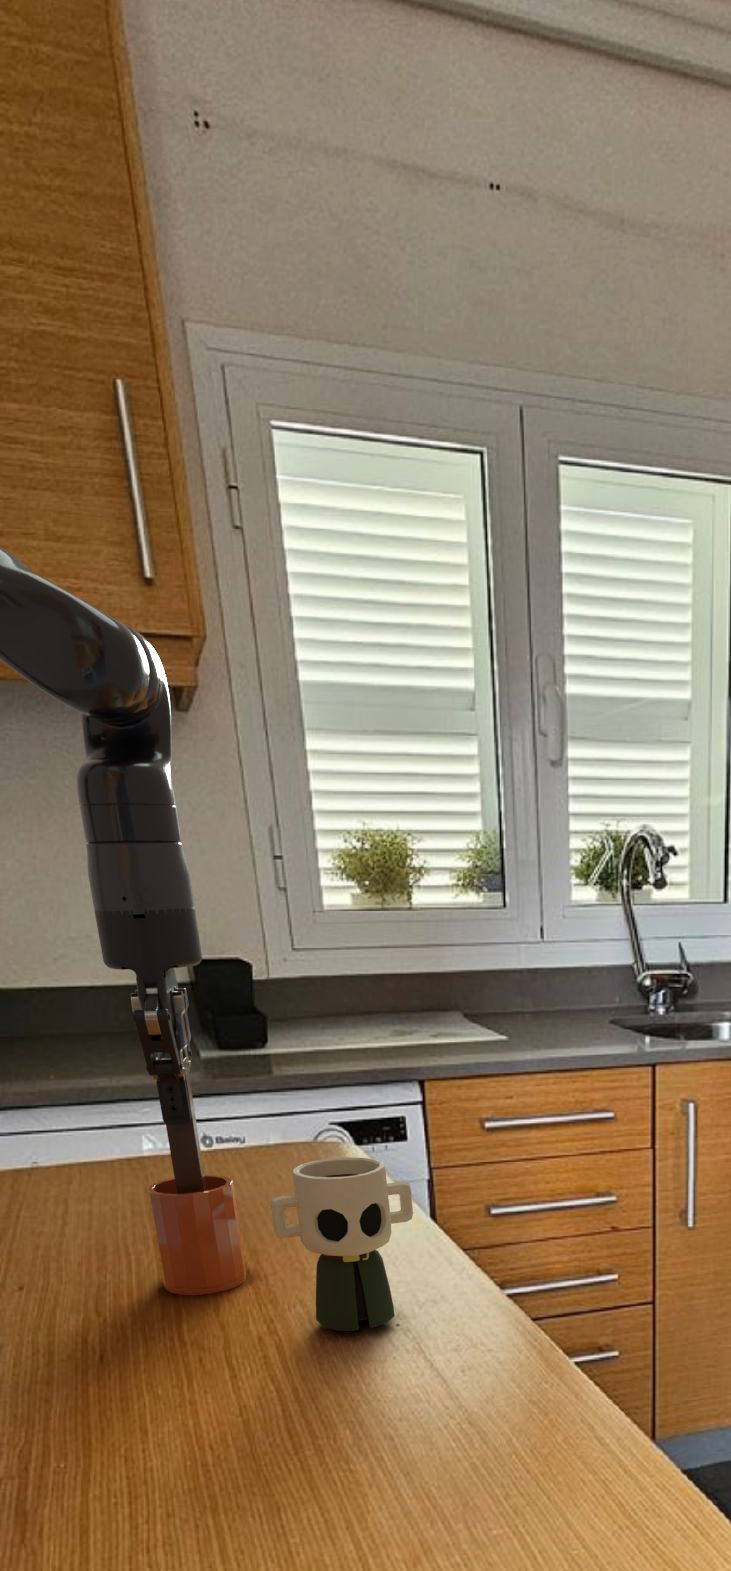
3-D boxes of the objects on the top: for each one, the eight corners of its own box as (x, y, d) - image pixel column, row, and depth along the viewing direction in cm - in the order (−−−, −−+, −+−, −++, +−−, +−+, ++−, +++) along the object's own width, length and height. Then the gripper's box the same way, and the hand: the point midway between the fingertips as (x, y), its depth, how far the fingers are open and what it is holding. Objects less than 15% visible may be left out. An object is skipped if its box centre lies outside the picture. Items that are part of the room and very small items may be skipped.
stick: (178, 1202, 103) (155, 1062, 99) (181, 1196, 105) (158, 1058, 101) (205, 1201, 104) (183, 1061, 99) (207, 1194, 106) (186, 1056, 101)
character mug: (296, 1349, 92) (274, 1185, 87) (280, 1320, 98) (259, 1165, 93) (433, 1326, 97) (420, 1168, 92) (410, 1299, 103) (397, 1150, 98)
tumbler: (148, 1292, 105) (130, 1193, 102) (192, 1267, 111) (177, 1172, 108) (219, 1297, 104) (203, 1196, 100) (261, 1271, 110) (247, 1176, 107)
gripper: (108, 902, 101) (144, 1107, 107) (77, 908, 88) (120, 1140, 95) (202, 900, 102) (231, 1102, 109) (184, 906, 90) (219, 1134, 97)
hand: (179, 1119), depth 102 cm, fingers closed on stick, 2 cm apart
